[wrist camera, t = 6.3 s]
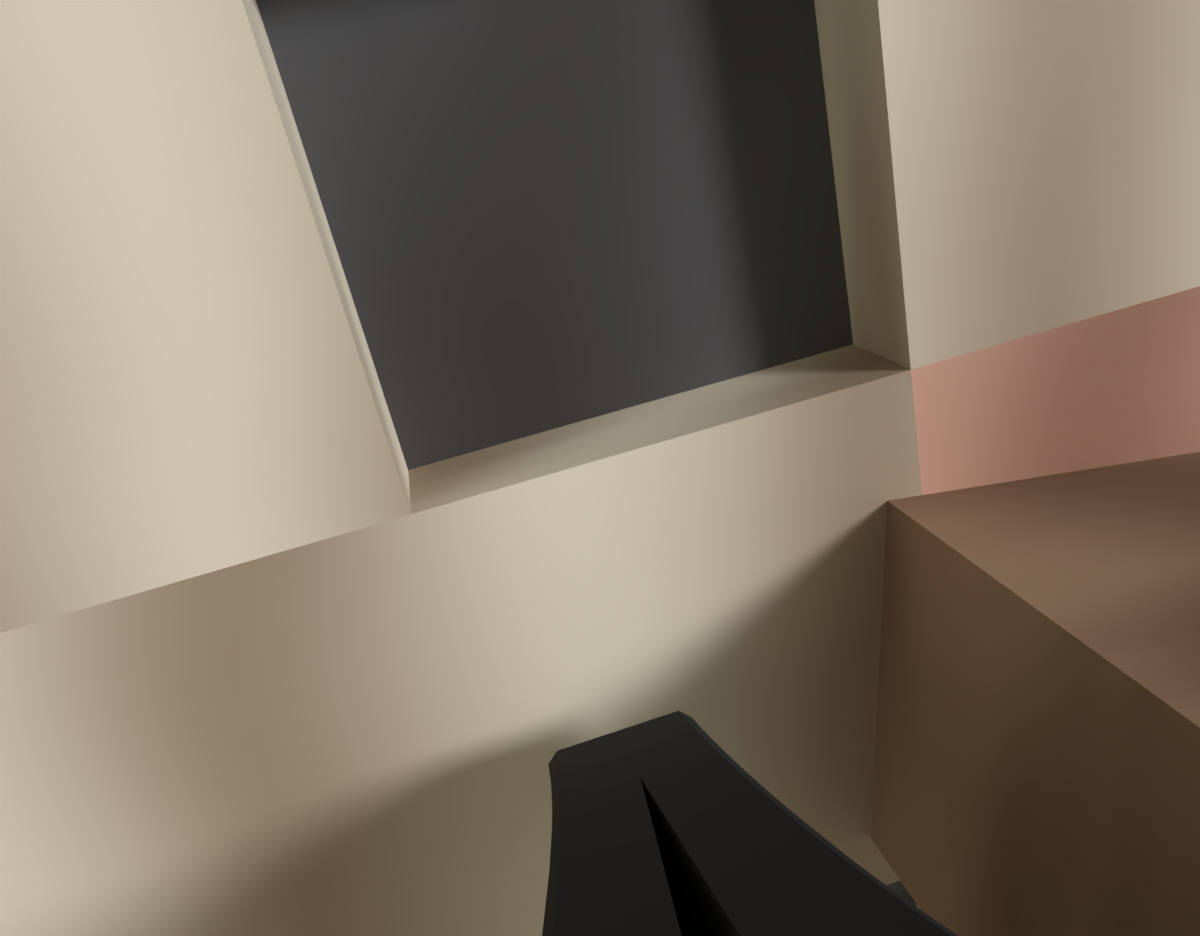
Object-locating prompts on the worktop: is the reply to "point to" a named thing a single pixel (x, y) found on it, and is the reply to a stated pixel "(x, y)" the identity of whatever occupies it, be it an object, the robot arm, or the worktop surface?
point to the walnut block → (1045, 703)
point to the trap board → (524, 407)
